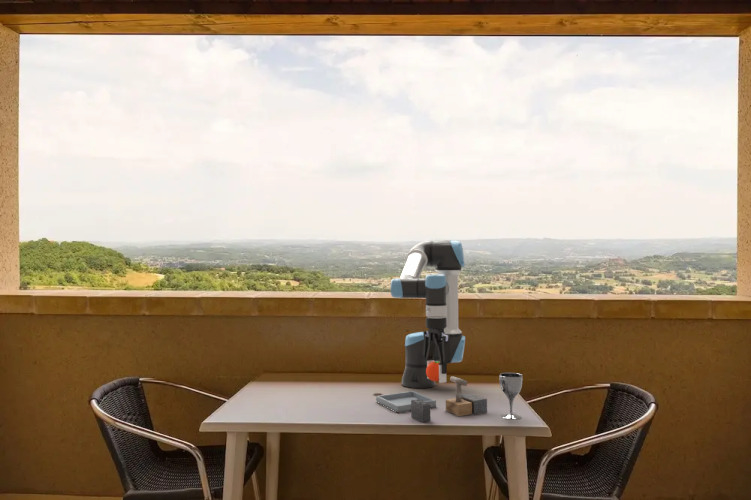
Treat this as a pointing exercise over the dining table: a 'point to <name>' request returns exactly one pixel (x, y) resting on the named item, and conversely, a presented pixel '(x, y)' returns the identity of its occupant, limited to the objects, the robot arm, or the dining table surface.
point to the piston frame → (479, 404)
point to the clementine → (433, 371)
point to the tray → (403, 400)
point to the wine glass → (511, 391)
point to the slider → (458, 400)
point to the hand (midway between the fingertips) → (436, 380)
